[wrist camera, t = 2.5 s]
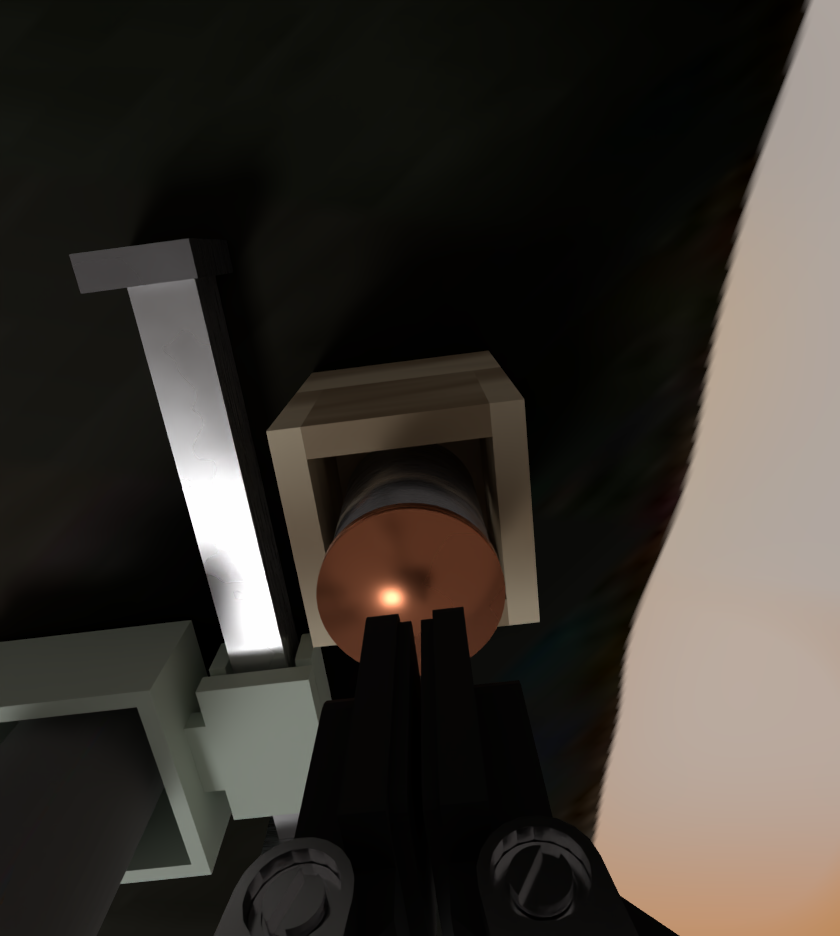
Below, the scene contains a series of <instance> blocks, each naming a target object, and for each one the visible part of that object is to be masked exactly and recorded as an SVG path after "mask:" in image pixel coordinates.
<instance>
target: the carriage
mask: <svg viewBox="0 0 840 936" xmlns="http://www.w3.org/2000/svg"><path fill="white" fill-rule="evenodd" d="M295 663H296V667H290V668H281V669H272V670H264V671H255V672H246V673H237V674H233V670H232V666H231V663H230V659H229V655H228V652H227V648H226V645H225V643H221V646H220V648H219V650H218V652H217V654H216V656H215V658H214V660H213V662H212V664H211V666H210V669H209V672H210V677H208V675H207V672H206V668H205V665H204V662H203V658H202V655H201V651H200V648H199V645H198V641H197V638H196V634H195V631H194V627H193V624H192V621H191V620H187V621H178V622H170V623H161V624H152V625H144V626H135V627H126V628H118V629H109V630H101V631H92V632H83V633H75V634H66V635H57V636H49V637H40V638H31V639H23V640H14V641H5V642H0V744H1V743H2V741H3V740H4V739H5V738H6V737H7V735H8V734H9V733H10V732H11V731H12V729H13V728H14V727H15V726H16V725H17V723H18V722H19V721H20V720H27V719H36V718H45V717H54V716H63V715H72V714H81V713H90V712H99V711H108V710H117V709H126V708H135V707H137V709H138V712H139V715H140V718H141V721H142V723H143V726H144V729H145V732H146V735H147V738H148V741H149V744H150V746H151V749H152V752H153V755H154V758H155V761H156V764H157V767H158V769H159V772H160V775H161V778H162V781H163V784H164V789H163V791H162V793H161V795H160V798H159V800H158V802H157V804H156V806H155V809H154V811H153V813H152V815H151V817H150V820H149V822H148V824H147V826H146V828H145V830H144V833H143V835H142V837H141V839H140V841H139V844H138V846H137V848H136V850H135V852H134V855H133V857H132V859H131V861H130V863H129V866H128V868H127V870H126V872H125V874H124V877H123V879H122V881H121V883H120V884H124V883H134V882H143V881H153V880H163V879H172V878H182V877H192V876H202V875H211V874H212V871H213V868H214V865H215V862H216V859H217V856H218V852H219V849H220V846H221V843H222V840H223V837H224V834H225V831H226V827H227V824H228V821H229V818H230V815H231V812H232V814H233V818H234V820H238V819H247V818H256V817H266V816H275V815H285V814H294V813H300V808H301V804H302V799H303V794H304V790H305V785H306V780H307V776H308V771H309V766H310V762H311V757H312V752H313V748H314V743H315V739H316V734H317V729H318V725H319V720H320V715H321V711H322V707H323V704H324V703H325V702H326V701H328V700H332V699H331V694H330V689H329V685H328V680H327V675H326V671H325V666H324V661H323V657H322V652H321V647H314V648H313V644H312V639H311V634H310V633H308V634H302V637H301V640H300V644H299V647H298V651H297V654H296V658H295Z"/></svg>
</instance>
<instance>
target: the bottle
mask: <svg viewBox="0 0 840 936" xmlns="http://www.w3.org/2000/svg"><path fill="white" fill-rule="evenodd" d="M163 789H164V784H163V781H162V778H161V775H160V772H159V769H158V767H157V764H156V761H155V758H154V755H153V752H152V749H151V746H150V744H149V741H148V738H147V735H146V732H145V729H144V726H143V723H142V721H141V718H140V715H139V712H138V709H137V707H135V708H126V709H117V710H108V711H99V712H90V713H81V714H72V715H63V716H54V717H45V718H36V719H27V720H20V721H19V722H18V723H17V725H16V726H15V727H14V728H13V729H12V731H11V732H10V733H9V734H8V735H7V737H6V738H5V739H4V740H3V741H2V743H1V744H0V936H96V935H97V933H98V931H99V929H100V927H101V925H102V923H103V920H104V918H105V916H106V914H107V912H108V909H109V907H110V905H111V903H112V901H113V898H114V896H115V894H116V892H117V890H118V887H119V885H120V883H121V881H122V879H123V877H124V874H125V872H126V870H127V868H128V866H129V863H130V861H131V859H132V857H133V855H134V852H135V850H136V848H137V846H138V844H139V841H140V839H141V837H142V835H143V833H144V830H145V828H146V826H147V824H148V822H149V820H150V817H151V815H152V813H153V811H154V809H155V806H156V804H157V802H158V800H159V798H160V795H161V793H162V791H163Z"/></svg>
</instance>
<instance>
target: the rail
mask: <svg viewBox="0 0 840 936" xmlns="http://www.w3.org/2000/svg"><path fill="white" fill-rule="evenodd" d="M69 256H70V259H71V262H72V266H73V269H74V272H75V276H76V279H77V282H78V285H79V289H80V292H81V294H82V293H89V292H97V291H104V290H112V289H119V288H127V289H128V292H129V296H130V300H131V303H132V307H133V311H134V314H135V318H136V321H137V325H138V329H139V332H140V336H141V340H142V343H143V347H144V350H145V354H146V358H147V361H148V365H149V369H150V372H151V376H152V380H153V383H154V387H155V390H156V394H157V398H158V401H159V405H160V409H161V412H162V416H163V419H164V423H165V427H166V430H167V434H168V438H169V441H170V445H171V449H172V452H173V456H174V459H175V463H176V467H177V470H178V474H179V478H180V481H181V485H182V488H183V492H184V496H185V499H186V503H187V507H188V510H189V514H190V517H191V521H192V525H193V528H194V532H195V536H196V539H197V543H198V547H199V550H200V554H201V557H202V561H203V565H204V568H205V572H206V576H207V579H208V583H209V586H210V590H211V594H212V597H213V601H214V605H215V608H216V612H217V616H218V619H219V623H220V626H221V630H222V634H223V637H224V641H225V645H226V648H227V652H228V655H229V659H230V663H231V666H232V670H233V674H237V673H246V672H255V671H264V670H272V669H281V668H290V667H296V663H295V658H296V654H297V651H298V647H299V642H298V638H297V633H296V629H295V624H294V620H293V616H292V611H291V607H290V602H289V598H288V594H287V589H286V585H285V580H284V576H283V572H282V567H281V563H280V558H279V554H278V550H277V545H276V541H275V536H274V532H273V528H272V523H271V519H270V514H269V510H268V506H267V501H266V497H265V492H264V488H263V484H262V479H261V475H260V470H259V466H258V462H257V457H256V453H255V448H254V444H253V440H252V435H251V431H250V426H249V422H248V418H247V413H246V409H245V404H244V400H243V396H242V391H241V387H240V382H239V378H238V374H237V369H236V365H235V360H234V356H233V352H232V347H231V343H230V338H229V334H228V330H227V325H226V321H225V316H224V312H223V308H222V303H221V299H220V294H219V290H218V286H217V281H216V277H215V275H222V274H229V273H233V268H232V263H231V259H230V254H229V250H228V245H227V240H219V239H191V238H188V239H180V240H173V241H166V242H158V243H151V244H143V245H136V246H128V247H121V248H114V249H106V250H99V251H91V252H84V253H76V254H69ZM298 818H299V813H294V814H285V815H275V816H271V817H270V821H269V825H268V829H267V833H266V837H265V841H264V845H263V849H262V853H261V855H263V854H264V853H266V852H267V851H269V850H270V849H272V848H273V847H275V846H276V845H279V844H282V843H284V842H287V841H290V840H292V839H294V836H295V831H296V827H297V822H298Z"/></svg>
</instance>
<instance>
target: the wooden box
mask: <svg viewBox="0 0 840 936" xmlns="http://www.w3.org/2000/svg"><path fill="white" fill-rule="evenodd" d="M266 433H267V438H268V442H269V447H270V451H271V456H272V460H273V465H274V470H275V474H276V479H277V483H278V488H279V492H280V497H281V502H282V506H283V511H284V515H285V520H286V525H287V529H288V534H289V538H290V543H291V547H292V552H293V557H294V561H295V566H296V570H297V575H298V580H299V584H300V589H301V593H302V598H303V602H304V607H305V612H306V616H307V621H308V625H309V630H310V634H311V639H312V644H313V648H314V647H322V646H331V645H337V644H336V643H335V642H334V641H333V640H332V638H331V637H330V635H329V634H328V632H327V631H326V629H325V627H324V625H323V623H322V620H321V618H320V614H319V611H318V607H317V599H316V588H317V581H318V576H319V572H320V568H321V565H322V562H323V559H324V556H325V554H326V552H327V550H328V548H329V546H330V545H331V543H332V542H333V539H334V535H335V532H336V528H337V524H338V520H339V517H340V513H341V509H342V505H343V502H344V498H345V494H346V490H347V487H348V483H349V480H350V477H351V475H352V473H353V471H354V470H355V468H356V467H357V465H358V464H359V462H360V461H361V460H362V459H363V458H364V457H365V456H366V455H368V454H369V453H370V452H372V451H380V450H389V449H397V448H405V447H413V446H421V445H429V444H439V445H441V446H443V447H445V448H447V449H448V450H450V451H451V452H453V453H454V454H455V455H456V456H457V457H458V458H459V459H460V460H461V461H462V462H463V463H464V465H465V466H466V468H467V469H468V470H469V473H470V475H471V477H472V479H473V482H474V485H475V489H476V493H477V497H478V501H479V504H480V508H481V512H482V516H483V520H484V523H485V527H486V531H487V535H488V539H489V542H490V543H491V544H492V546H493V548H494V550H495V552H496V554H497V556H498V559H499V562H500V565H501V569H502V572H503V576H504V582H505V605H504V610H503V613H502V617H501V620H500V622H499V624H498V626H497V627H499V626H507V625H516V624H525V623H534V622H540V619H539V605H538V590H537V576H536V561H535V547H534V532H533V518H532V503H531V488H530V474H529V459H528V445H527V430H526V416H525V401H524V398H523V397H522V395H521V394H520V393H519V391H518V390H517V389H516V387H515V386H514V384H513V383H512V382H511V380H510V379H509V378H508V376H507V375H506V374H505V372H504V371H503V370H502V368H501V367H500V365H499V364H498V363H497V361H496V360H495V359H494V357H493V356H492V355H491V353H490V352H489V351H481V352H473V353H465V354H457V355H449V356H442V357H434V358H426V359H418V360H410V361H402V362H394V363H387V364H379V365H371V366H363V367H355V368H347V369H339V370H331V371H324V372H316V373H312V374H311V375H310V376H309V378H308V379H307V380H306V381H305V383H304V384H303V385H302V386H301V388H300V389H299V390H298V392H297V393H296V394H295V395H294V397H293V398H292V399H291V400H290V402H289V403H288V404H287V406H286V407H285V408H284V409H283V411H282V412H281V413H280V414H279V416H278V417H277V418H276V420H275V421H274V422H273V423H272V425H271V426H270V427H269V428H268V430H267V431H266Z"/></svg>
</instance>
